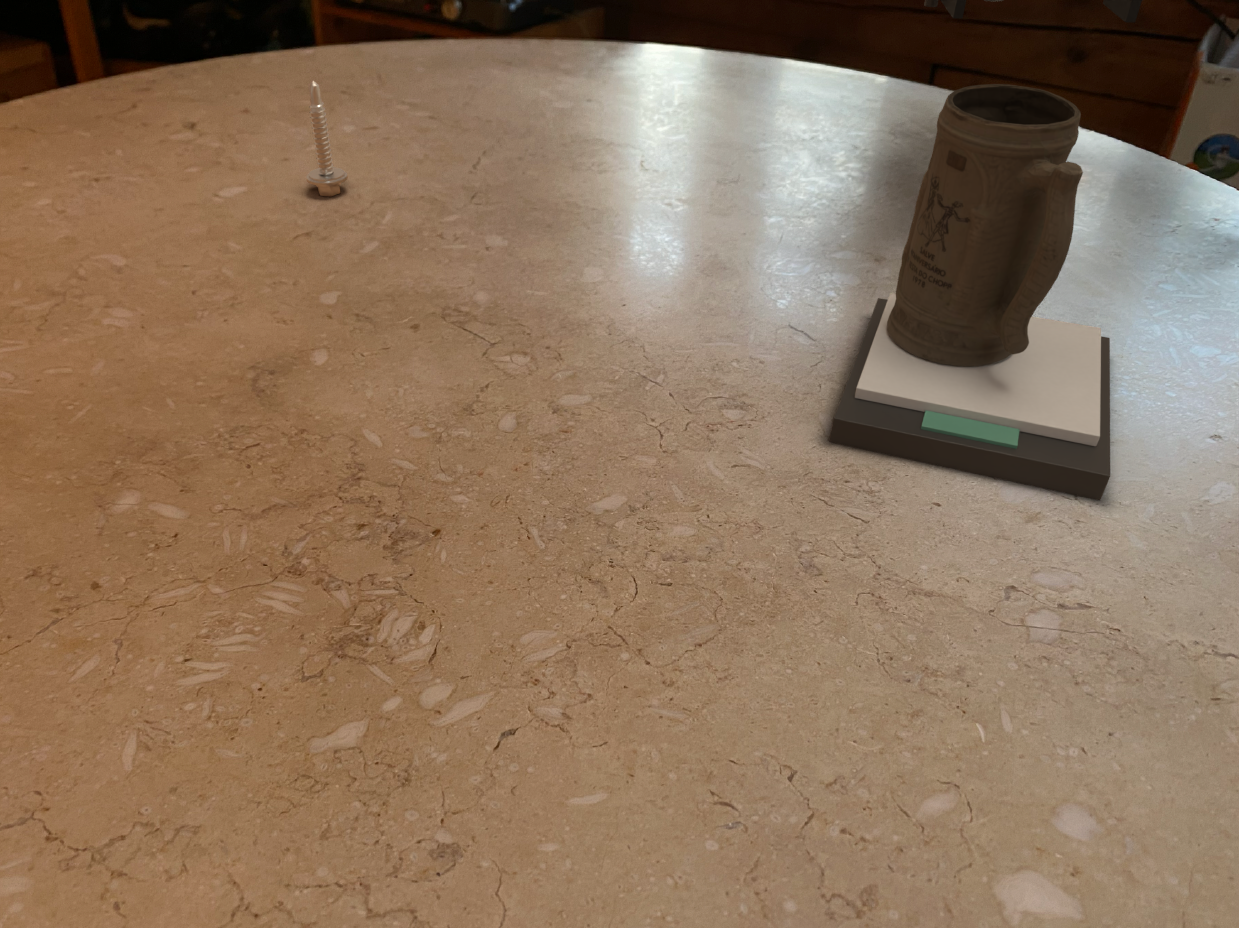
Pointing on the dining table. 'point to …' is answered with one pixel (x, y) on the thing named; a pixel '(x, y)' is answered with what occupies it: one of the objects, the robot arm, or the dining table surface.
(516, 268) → the dining table surface
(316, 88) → the screw
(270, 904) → the dining table surface
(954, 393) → the scale
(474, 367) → the dining table surface
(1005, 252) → the beer stein
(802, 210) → the dining table surface
